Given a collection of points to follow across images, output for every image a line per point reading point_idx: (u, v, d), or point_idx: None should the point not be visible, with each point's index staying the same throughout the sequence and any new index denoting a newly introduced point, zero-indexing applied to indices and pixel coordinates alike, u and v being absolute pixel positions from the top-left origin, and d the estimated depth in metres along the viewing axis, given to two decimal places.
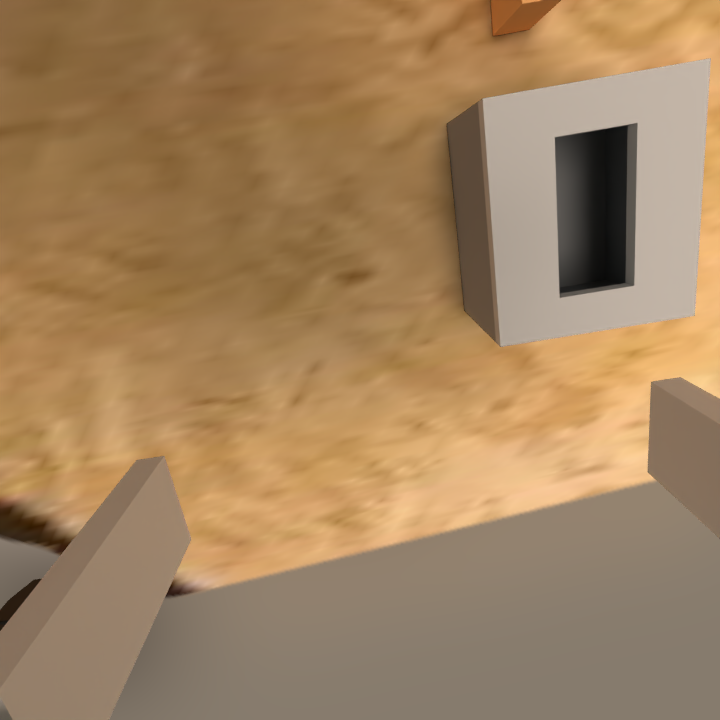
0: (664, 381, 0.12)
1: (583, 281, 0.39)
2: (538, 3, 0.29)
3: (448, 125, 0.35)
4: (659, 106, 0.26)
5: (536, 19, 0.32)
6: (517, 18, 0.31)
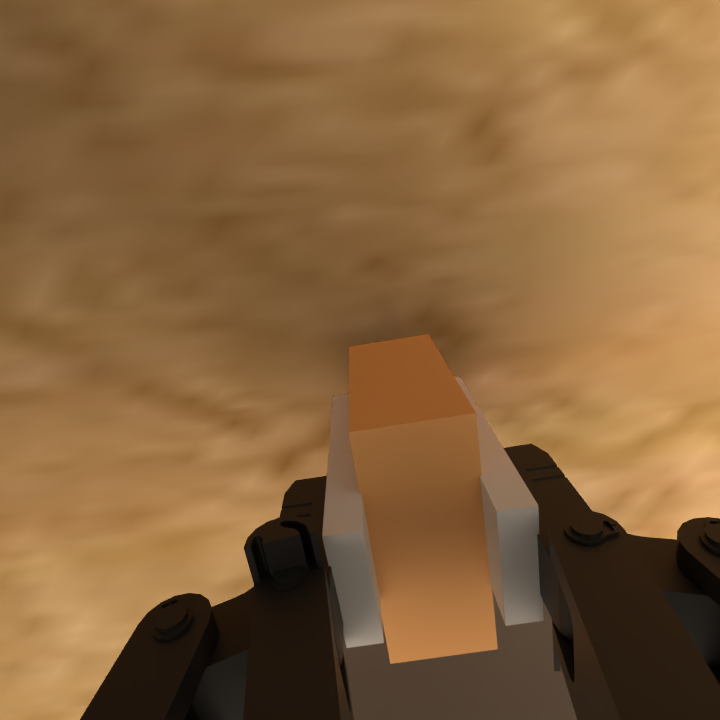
0: None
1: None
2: None
3: None
4: None
5: None
6: None
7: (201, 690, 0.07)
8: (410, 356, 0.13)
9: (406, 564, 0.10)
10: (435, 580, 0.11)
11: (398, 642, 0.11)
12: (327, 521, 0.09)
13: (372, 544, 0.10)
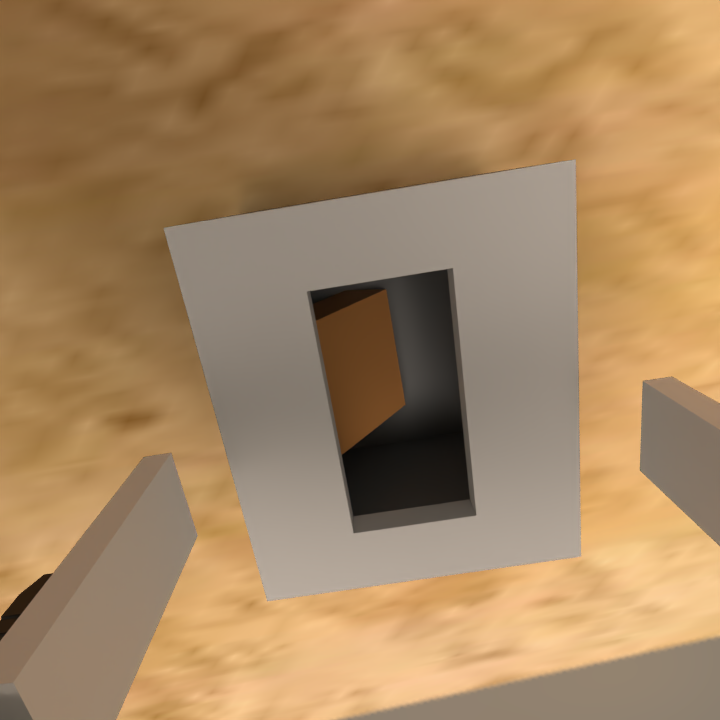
0: (656, 380, 0.13)
1: (458, 430, 0.27)
2: None
3: None
4: (489, 241, 0.15)
5: None
6: None
7: None
8: (347, 300, 0.22)
9: None
10: None
11: None
12: None
13: None
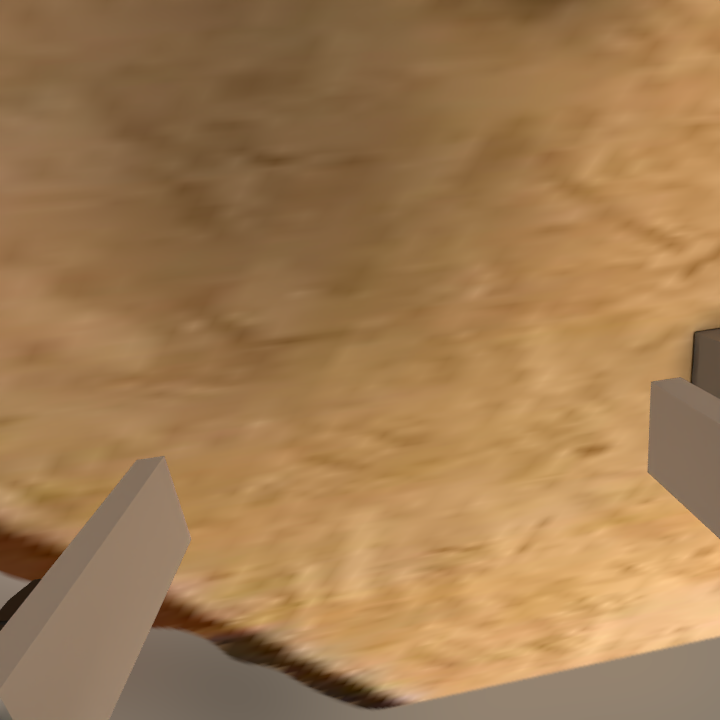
0: (664, 381, 0.12)
1: None
2: None
3: (700, 336, 0.40)
4: None
5: None
6: None
7: None
8: None
9: None
10: None
11: None
12: None
13: None
